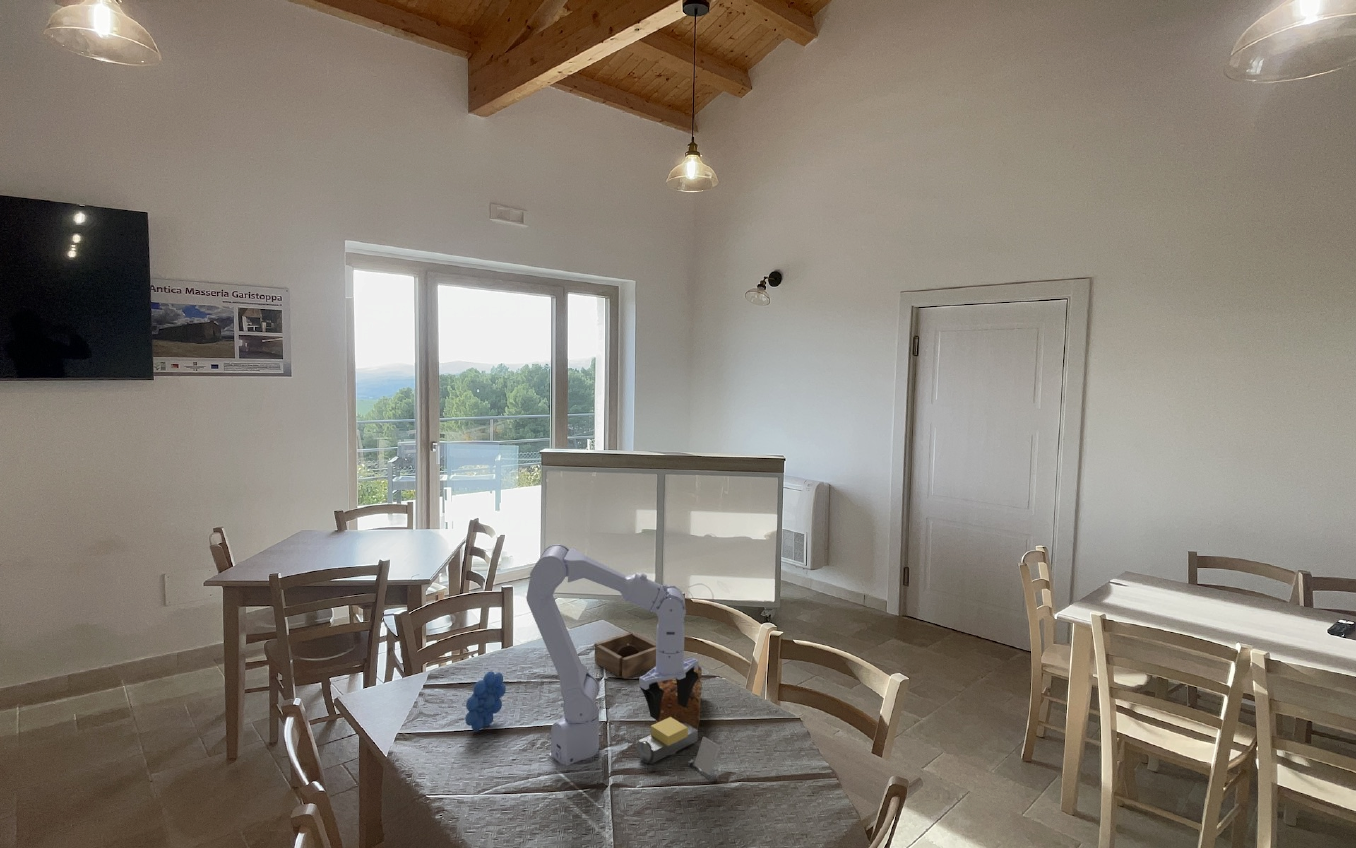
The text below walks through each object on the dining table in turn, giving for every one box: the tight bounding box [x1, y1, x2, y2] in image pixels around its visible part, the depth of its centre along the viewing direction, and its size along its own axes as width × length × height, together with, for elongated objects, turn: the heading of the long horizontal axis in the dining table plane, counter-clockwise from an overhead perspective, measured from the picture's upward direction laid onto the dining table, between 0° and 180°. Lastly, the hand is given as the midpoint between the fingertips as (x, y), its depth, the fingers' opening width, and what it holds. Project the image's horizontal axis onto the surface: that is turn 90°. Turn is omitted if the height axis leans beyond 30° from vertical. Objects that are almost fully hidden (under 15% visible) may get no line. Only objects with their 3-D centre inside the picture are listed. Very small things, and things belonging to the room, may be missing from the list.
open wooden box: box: [594, 632, 656, 679], centre depth 186 cm, size 13×13×5 cm
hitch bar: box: [636, 721, 718, 783], centre depth 138 cm, size 13×16×5 cm
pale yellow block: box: [650, 717, 688, 756], centre depth 142 cm, size 5×5×6 cm
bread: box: [654, 664, 703, 730], centre depth 160 cm, size 19×11×10 cm, turn 177°
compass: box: [616, 644, 639, 658], centre depth 184 cm, size 8×8×7 cm
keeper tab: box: [689, 736, 721, 781], centre depth 136 cm, size 6×6×1 cm
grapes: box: [464, 670, 507, 732], centre depth 153 cm, size 12×7×12 cm, turn 152°
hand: (668, 711), depth 142 cm, fingers open, 7 cm apart
